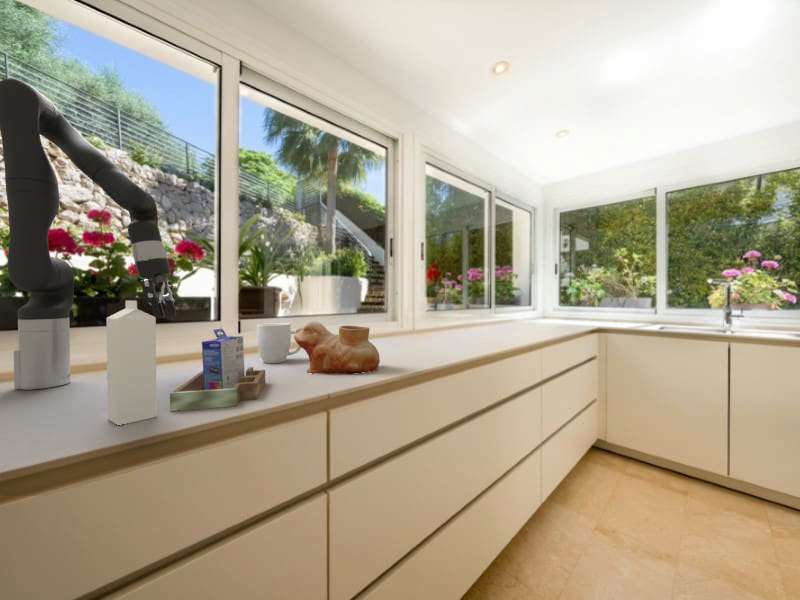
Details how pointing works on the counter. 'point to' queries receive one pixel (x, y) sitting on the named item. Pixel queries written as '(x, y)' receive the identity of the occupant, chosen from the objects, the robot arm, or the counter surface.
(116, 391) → the milk
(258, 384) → the wooden compartment tray
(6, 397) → the counter surface
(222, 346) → the ink cartridge box
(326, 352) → the ceramic vessel
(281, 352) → the mug
